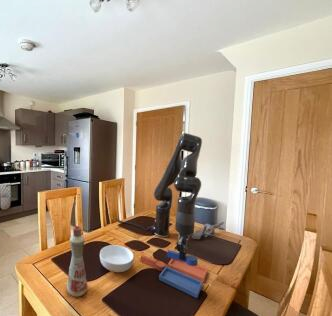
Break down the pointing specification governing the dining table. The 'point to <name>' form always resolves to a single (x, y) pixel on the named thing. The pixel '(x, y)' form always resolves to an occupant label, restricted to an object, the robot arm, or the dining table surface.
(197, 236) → the spaceship
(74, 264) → the bottle
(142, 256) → the terracotta spoon
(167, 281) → the blue tray
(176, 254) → the blue spoon
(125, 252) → the cereal bowl
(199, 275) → the terracotta tray
